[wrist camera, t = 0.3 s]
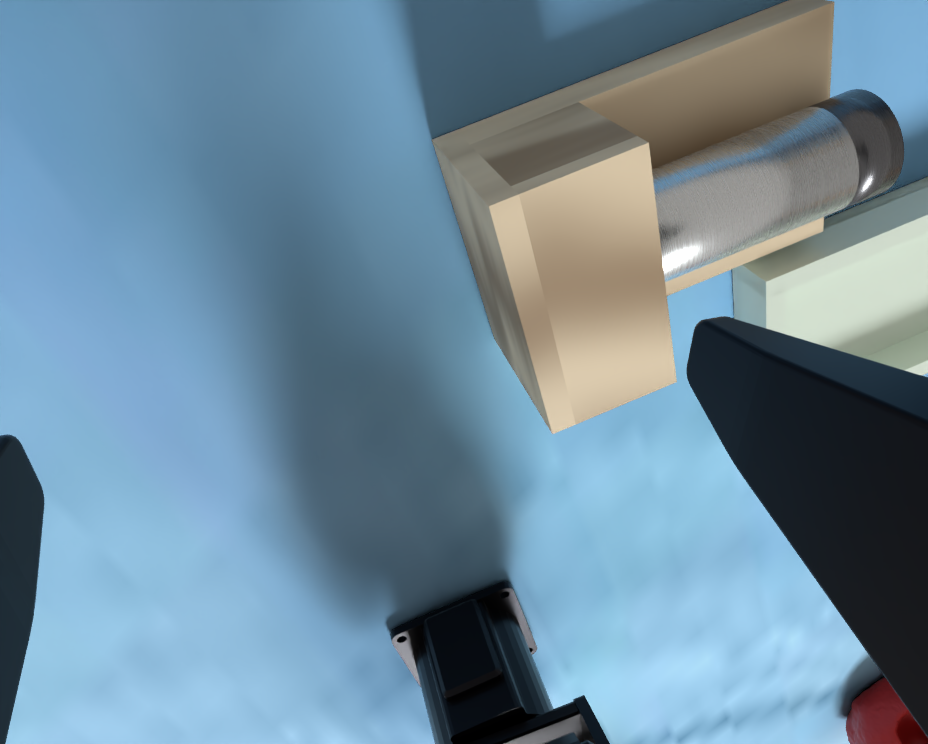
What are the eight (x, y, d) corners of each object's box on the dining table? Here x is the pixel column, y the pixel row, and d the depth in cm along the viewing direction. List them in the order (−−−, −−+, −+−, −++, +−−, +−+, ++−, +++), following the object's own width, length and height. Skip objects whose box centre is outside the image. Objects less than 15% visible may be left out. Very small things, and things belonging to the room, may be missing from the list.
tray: (1028, 288, 33) (1073, 310, 32) (738, 412, 33) (767, 441, 31) (1075, 115, 28) (1131, 129, 27) (731, 257, 27) (766, 282, 26)
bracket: (795, 215, 27) (914, 281, 22) (494, 339, 26) (552, 433, 22) (799, -5, 22) (952, 21, 18) (431, 139, 22) (489, 206, 17)
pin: (823, 175, 24) (897, 210, 22) (538, 292, 24) (577, 342, 21) (827, 79, 22) (910, 103, 20) (515, 203, 22) (556, 246, 19)
